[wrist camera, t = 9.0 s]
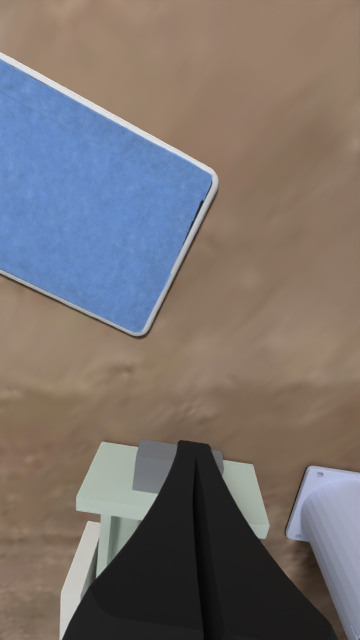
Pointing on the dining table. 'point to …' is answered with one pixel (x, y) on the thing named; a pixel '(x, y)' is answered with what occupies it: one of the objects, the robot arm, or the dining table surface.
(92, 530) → the white drawer housing
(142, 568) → the robot arm
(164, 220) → the tablet computer
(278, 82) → the dining table surface
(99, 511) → the tray
